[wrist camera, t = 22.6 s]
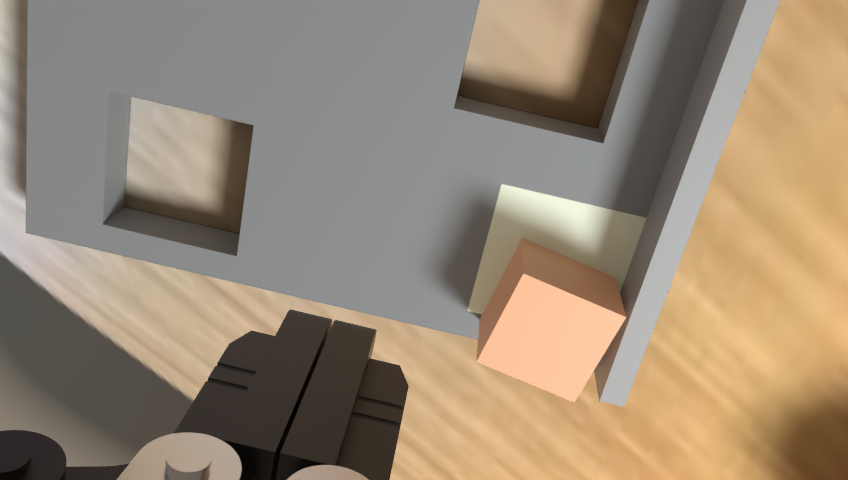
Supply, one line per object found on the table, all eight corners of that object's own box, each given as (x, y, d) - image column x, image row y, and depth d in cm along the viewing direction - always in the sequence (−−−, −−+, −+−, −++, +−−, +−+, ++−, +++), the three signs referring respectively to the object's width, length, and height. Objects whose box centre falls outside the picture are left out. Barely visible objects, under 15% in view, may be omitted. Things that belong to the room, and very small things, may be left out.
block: (615, 277, 39) (626, 317, 35) (568, 357, 41) (574, 402, 37) (522, 237, 39) (523, 273, 35) (479, 319, 41) (476, 361, 37)
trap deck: (748, -32, 35) (787, -20, 30) (610, 347, 43) (623, 406, 38) (59, -194, 35) (-15, -208, 30) (51, 214, 44) (-9, 256, 39)
